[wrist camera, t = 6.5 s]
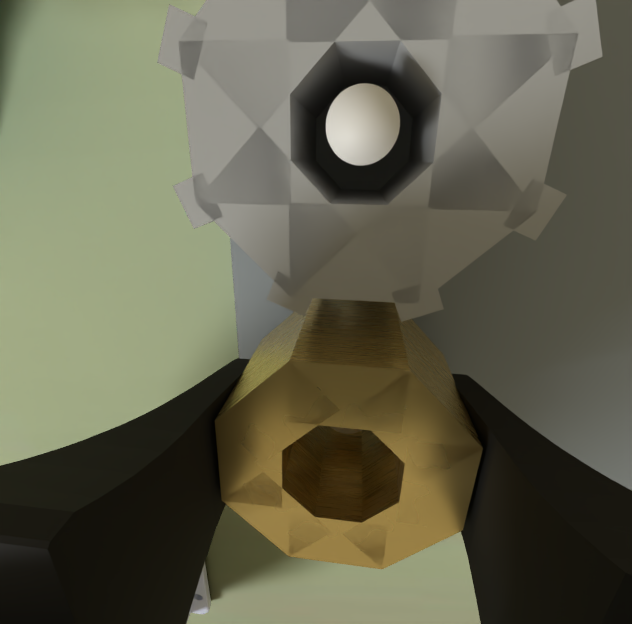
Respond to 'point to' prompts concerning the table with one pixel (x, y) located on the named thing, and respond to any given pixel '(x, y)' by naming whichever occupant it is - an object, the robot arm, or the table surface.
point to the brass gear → (348, 438)
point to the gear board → (540, 283)
